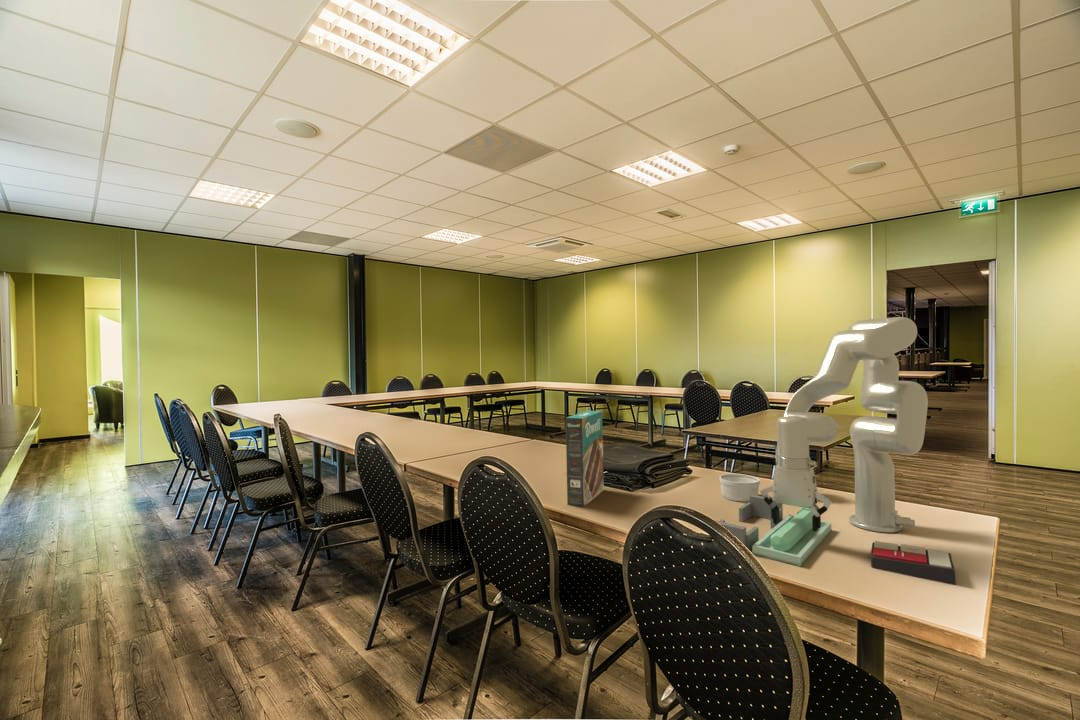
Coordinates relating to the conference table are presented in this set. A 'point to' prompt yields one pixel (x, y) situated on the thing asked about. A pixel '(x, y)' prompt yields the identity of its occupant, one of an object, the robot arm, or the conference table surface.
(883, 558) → the black switch panel
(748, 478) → the ramekin
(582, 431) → the cake mix box
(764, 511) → the bay
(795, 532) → the green hexagonal bar
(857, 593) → the conference table surface
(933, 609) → the conference table surface
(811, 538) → the tray
